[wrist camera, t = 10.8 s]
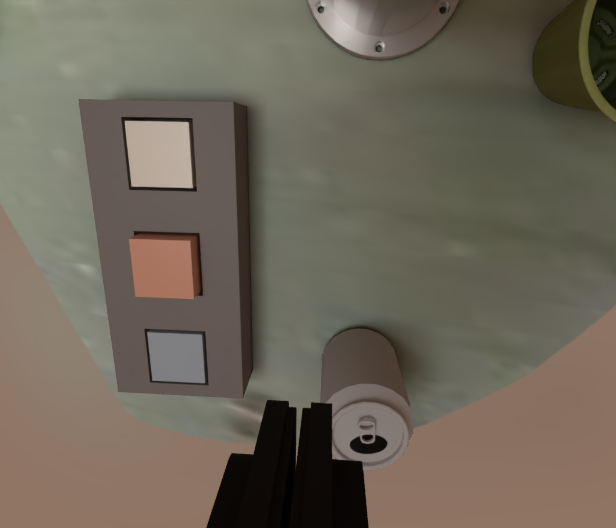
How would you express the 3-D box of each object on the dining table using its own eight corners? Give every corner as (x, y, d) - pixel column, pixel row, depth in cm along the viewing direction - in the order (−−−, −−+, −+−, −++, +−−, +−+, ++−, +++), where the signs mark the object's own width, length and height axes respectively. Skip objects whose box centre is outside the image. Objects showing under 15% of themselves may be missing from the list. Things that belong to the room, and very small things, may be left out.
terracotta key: (150, 228, 37) (128, 238, 33) (205, 229, 37) (190, 240, 33) (155, 280, 38) (135, 296, 34) (208, 282, 38) (194, 299, 34)
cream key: (147, 122, 35) (124, 120, 32) (204, 123, 35) (188, 122, 31) (152, 181, 37) (131, 186, 33) (207, 182, 37) (192, 188, 33)
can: (326, 391, 44) (324, 482, 32) (317, 328, 42) (311, 401, 30) (397, 385, 43) (421, 476, 32) (392, 320, 41) (415, 393, 29)
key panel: (111, 104, 36) (78, 99, 31) (246, 106, 36) (233, 101, 31) (141, 364, 44) (118, 391, 39) (252, 369, 43) (242, 398, 39)
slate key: (164, 313, 41) (147, 332, 37) (214, 316, 41) (201, 334, 37) (168, 358, 42) (152, 380, 38) (216, 360, 42) (204, 383, 38)
